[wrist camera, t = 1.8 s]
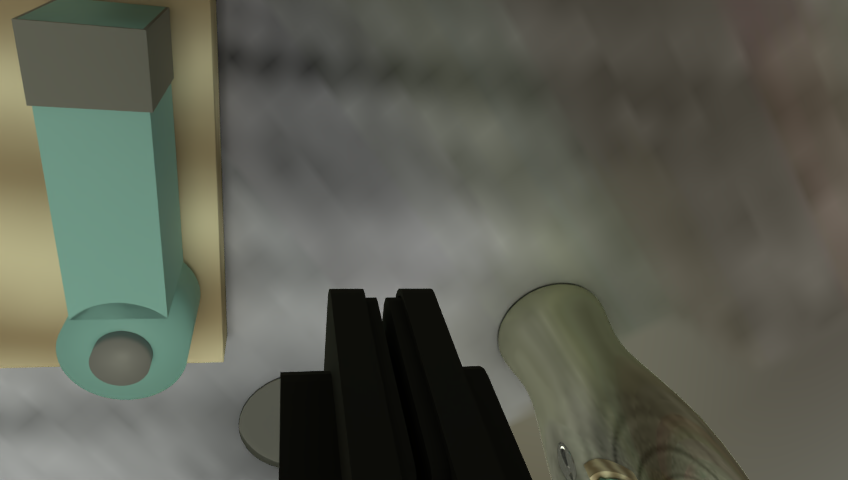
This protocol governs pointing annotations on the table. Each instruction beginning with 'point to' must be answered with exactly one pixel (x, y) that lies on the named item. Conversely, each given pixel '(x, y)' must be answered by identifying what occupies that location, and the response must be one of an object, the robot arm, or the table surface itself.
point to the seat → (30, 213)
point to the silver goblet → (262, 423)
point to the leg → (111, 190)
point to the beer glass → (602, 397)
